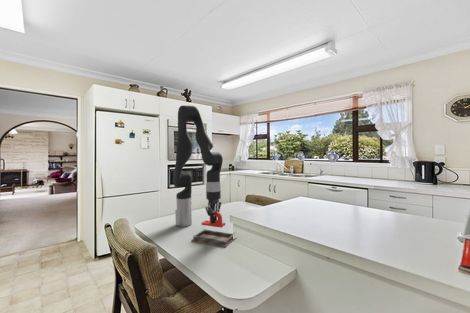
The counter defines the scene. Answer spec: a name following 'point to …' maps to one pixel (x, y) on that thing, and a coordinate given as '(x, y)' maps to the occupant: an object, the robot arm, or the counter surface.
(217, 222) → the bracket
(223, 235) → the plate
